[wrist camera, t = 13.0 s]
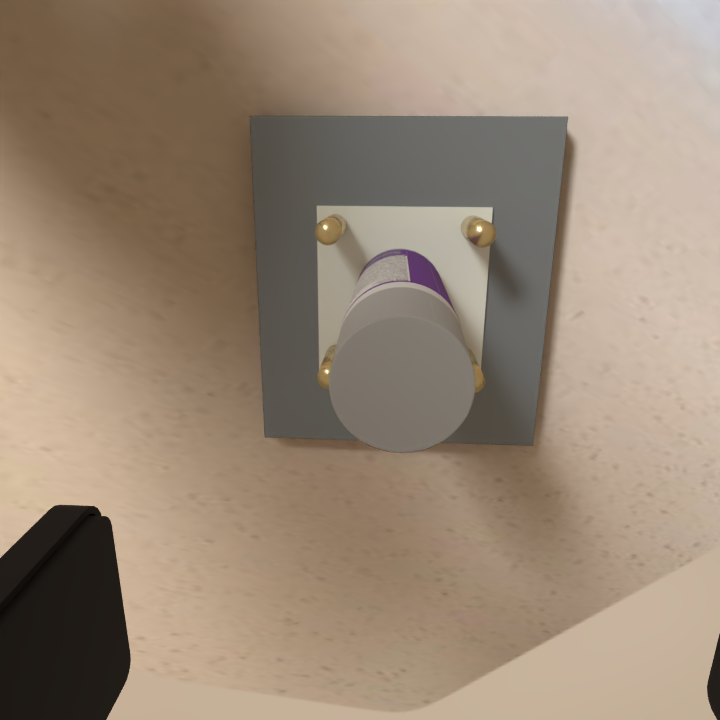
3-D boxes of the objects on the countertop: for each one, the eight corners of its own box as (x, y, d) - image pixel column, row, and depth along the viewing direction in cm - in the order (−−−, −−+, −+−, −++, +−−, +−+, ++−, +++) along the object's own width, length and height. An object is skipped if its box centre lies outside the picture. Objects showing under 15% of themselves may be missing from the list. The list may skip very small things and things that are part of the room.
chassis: (256, 118, 31) (248, 115, 30) (559, 119, 30) (569, 116, 29) (269, 427, 37) (263, 438, 35) (527, 434, 36) (533, 447, 34)
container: (456, 310, 32) (505, 420, 18) (380, 346, 33) (367, 479, 19) (419, 232, 31) (439, 283, 16) (341, 272, 32) (296, 352, 17)
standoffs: (324, 213, 31) (314, 219, 27) (484, 215, 30) (497, 221, 27) (325, 364, 33) (317, 388, 30) (473, 367, 33) (484, 393, 29)
